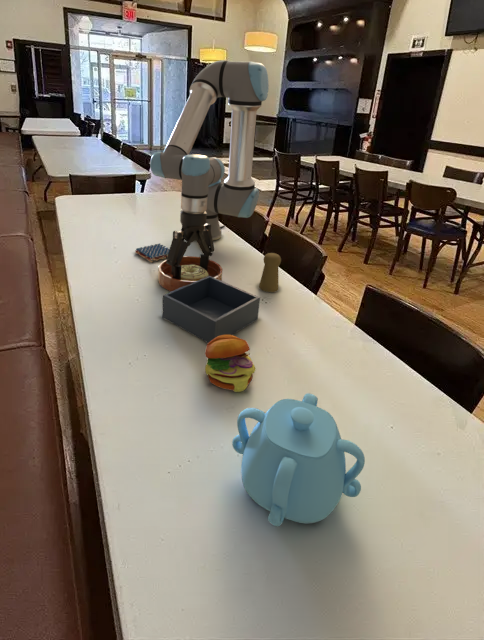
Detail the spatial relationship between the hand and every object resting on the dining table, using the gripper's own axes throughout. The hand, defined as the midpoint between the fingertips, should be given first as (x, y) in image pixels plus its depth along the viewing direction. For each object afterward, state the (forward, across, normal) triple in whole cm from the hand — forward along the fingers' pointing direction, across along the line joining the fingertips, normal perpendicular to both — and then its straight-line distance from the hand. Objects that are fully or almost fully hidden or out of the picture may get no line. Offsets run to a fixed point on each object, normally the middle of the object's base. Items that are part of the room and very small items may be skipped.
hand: (190, 279), depth 126 cm
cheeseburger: (+1, -27, -37) cm, 46 cm away
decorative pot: (+1, -40, -60) cm, 72 cm away
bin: (+1, -12, -19) cm, 22 cm away
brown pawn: (+1, +15, -19) cm, 24 cm away
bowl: (+1, 0, 0) cm, 1 cm away
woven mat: (+1, +6, +23) cm, 24 cm away
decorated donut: (0, 0, 0) cm, 0 cm away
